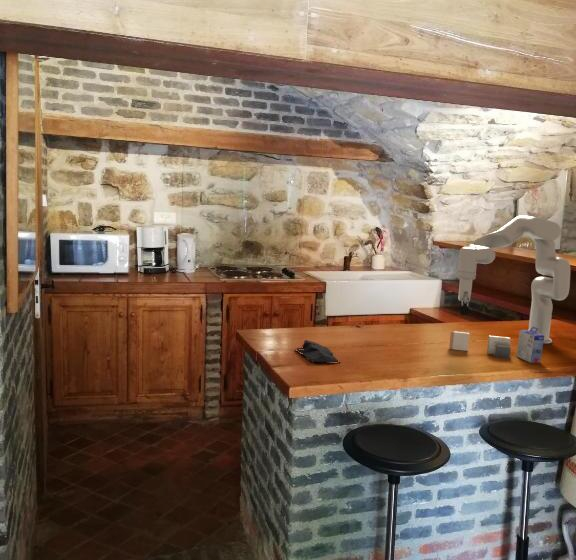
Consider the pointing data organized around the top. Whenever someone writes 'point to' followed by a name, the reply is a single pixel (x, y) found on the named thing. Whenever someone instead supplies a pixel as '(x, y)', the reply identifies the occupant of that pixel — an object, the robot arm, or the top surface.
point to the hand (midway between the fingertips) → (463, 312)
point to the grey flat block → (459, 340)
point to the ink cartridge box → (530, 345)
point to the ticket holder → (499, 346)
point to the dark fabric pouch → (317, 352)
